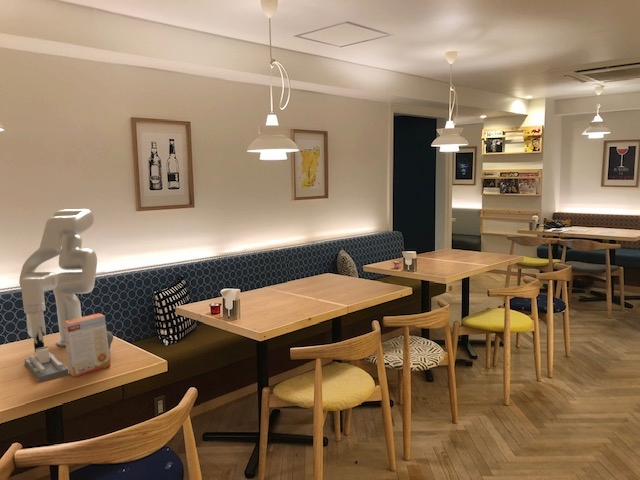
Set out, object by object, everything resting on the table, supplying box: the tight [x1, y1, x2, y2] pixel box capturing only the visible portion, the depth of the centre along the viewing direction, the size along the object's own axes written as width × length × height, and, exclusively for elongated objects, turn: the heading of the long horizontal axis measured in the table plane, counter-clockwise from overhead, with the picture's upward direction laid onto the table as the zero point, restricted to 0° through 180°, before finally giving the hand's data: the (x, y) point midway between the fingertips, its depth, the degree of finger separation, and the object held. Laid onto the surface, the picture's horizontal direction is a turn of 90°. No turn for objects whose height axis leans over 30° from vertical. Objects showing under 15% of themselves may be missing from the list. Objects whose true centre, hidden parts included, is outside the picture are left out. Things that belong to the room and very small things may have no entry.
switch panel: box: [24, 351, 69, 383], centre depth 206 cm, size 10×24×4 cm, turn 40°
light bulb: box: [107, 330, 114, 354], centre depth 219 cm, size 6×6×10 cm
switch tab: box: [35, 345, 50, 364], centre depth 208 cm, size 4×4×6 cm
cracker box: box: [63, 313, 111, 378], centre depth 202 cm, size 14×6×21 cm, turn 133°
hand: (39, 352), depth 211 cm, fingers closed
